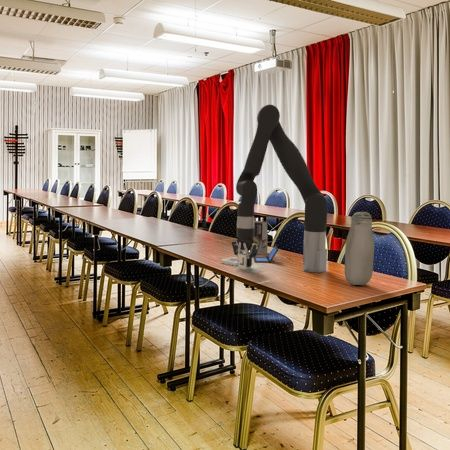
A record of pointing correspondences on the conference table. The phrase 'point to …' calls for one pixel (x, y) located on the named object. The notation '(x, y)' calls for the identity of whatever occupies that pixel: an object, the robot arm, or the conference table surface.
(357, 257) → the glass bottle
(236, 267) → the coaster teal
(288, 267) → the conference table surface
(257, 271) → the coaster grey
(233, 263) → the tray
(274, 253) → the handheld game console
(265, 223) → the coffee box
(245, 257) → the letter cube
